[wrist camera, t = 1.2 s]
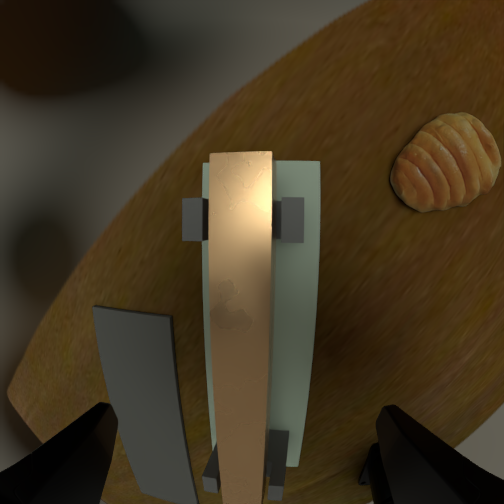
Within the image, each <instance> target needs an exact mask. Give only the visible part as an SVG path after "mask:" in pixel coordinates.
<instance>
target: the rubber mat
mask: <svg viewBox="0 0 504 504" xmlns="http://www.w3.org/2000/svg"><path fill="white" fill-rule="evenodd" d="M92 308H93V316H94V323H95V330H96V336H97V342H98V348H99V354H100V359H101V364H102V369H103V373H104V378H105V382H106V386H107V391H108V395H109V399H110V402H111V405H112V406H113V409H114V411H115V413H116V415H117V418H118V430H119V433H120V437H121V440H122V443H123V446H124V448H125V451H126V454H127V457H128V460H129V462H130V465H131V468H132V470H133V473H134V475H135V478H136V480H137V483H138V485H139V487H140V490H141V492H142V493H145V494H148V495H151V496H154V497H157V498H160V499H163V500H167V501H170V502H174V503H178V504H199V501H198V497H197V493H196V488H195V483H194V479H193V474H192V469H191V463H190V458H189V452H188V447H187V441H186V435H185V429H184V422H183V415H182V408H181V401H180V393H179V385H178V376H177V367H176V357H175V346H174V334H173V321H172V316H170V315H161V314H153V313H145V312H137V311H130V310H123V309H116V308H109V307H103V306H97V305H95V306H93V307H92Z"/></svg>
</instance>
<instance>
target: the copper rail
mask: <svg viewBox="0 0 504 504" xmlns="http://www.w3.org/2000/svg"><path fill="white" fill-rule="evenodd" d="M276 202H277V163H276V161H275V158H274V155H273V153H272V151H260V152H229V153H211V154H210V165H209V306H210V336H211V360H212V379H213V396H214V411H215V424H216V437H217V449H218V460H219V470H220V480H221V489H222V498H223V504H263V499H264V494H265V486H266V472H267V458H268V442H269V425H270V407H271V387H272V364H273V339H274V309H275V270H276Z"/></svg>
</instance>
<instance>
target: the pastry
mask: <svg viewBox="0 0 504 504" xmlns="http://www.w3.org/2000/svg"><path fill="white" fill-rule="evenodd" d="M500 166H501V157H500V154H499V150H498V147H497V145H496V143H495V140H494V138H493V136H492V134H491V133H490V132H489V131H488V130H487V129H486V128H485V127H484V125H483V124H482V122H481V121H479V120H478V119H477V118H475V117H474V116H472V115H470V114H467V113H464V112H459V113H456V114H442V115H439V116H438V117H437V118H436V119H435V120H432V121H431V122H430V123H427V124H425V125H424V126H423V127H422V128H421V129H420V131H419V132H418V133H417V134H416V135H415V137H414V138H413V139H412V140H411V141H410V142H409V143H408V145H407V146H405V147H404V149H403V150H402V151H401V153H400V154H399V155H398V156H397V158H396V160H395V163H394V166H393V168H392V170H391V175H390V181H391V184H392V186H393V189H394V191H395V193H396V194H397V196H398V197H399V198H400V199H401V200H403V201H404V203H405V204H406V205H408V206H410V207H412V208H414V209H415V210H417V211H419V212H427V211H432V210H442V211H443V210H447V209H449V208H451V207H455V206H461V207H462V206H467V205H468V204H469V203H470V202H471V201H472V200H473V199H475V198H476V197H477V196H478V195H481V194H487V193H488V192H489V191H490V189H491V187H492V186H493V185H494V183H495V180H496V178H497V175H498V171H499V168H500Z"/></svg>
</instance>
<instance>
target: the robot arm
mask: <svg viewBox="0 0 504 504" xmlns="http://www.w3.org/2000/svg"><path fill="white" fill-rule="evenodd" d="M117 428H118V418H117V415H116V413H115V411H114V409H113V406H112V405H111V404H109V403H104V402H99V403H98V404H96V405H95V406H94V407H92V408H91V409H90V410H88V411H87V412H86V413H84V414H83V415H82V416H80V417H79V418H78V419H76V420H75V421H74V422H72V423H71V424H70V425H68V426H67V427H66V428H64V429H63V430H62V431H60V432H59V433H58V434H56V435H55V436H53V437H52V438H51V439H49V440H48V441H47V442H45V443H44V444H43V445H41V446H40V447H39V448H37V449H36V450H34V451H33V452H32V454H31V453H30V454H29V455H27V456H26V457H24V458H23V459H21V460H20V461H19V462H17V463H15V464H14V465H12V466H10V467H9V468H7V469H5V470H3V471H1V472H0V504H99V503H100V499H101V496H102V492H103V488H104V485H105V481H106V478H107V474H108V471H109V468H110V464H111V460H112V456H113V450H114V445H115V439H116V434H117ZM376 430H377V435H378V441H379V444H374V445H373V446H372V447H371V449H370V451H369V454H368V457H367V460H366V462H365V465H364V468H363V470H362V473H361V475H360V478H359V480H358V483H359V485H370V486H371V491H372V497H373V502H374V504H504V480H502V479H501V478H499V477H497V476H495V475H493V474H491V473H489V472H487V471H485V470H484V469H482V468H480V467H479V466H477V465H476V464H474V463H473V462H471V461H470V460H469V459H467V458H466V457H464V456H463V455H461V454H460V453H459V452H457V451H456V450H455V449H453V448H452V447H451V446H449V445H448V444H446V443H445V442H444V441H442V440H441V439H440V438H438V437H437V436H436V435H434V434H433V433H432V432H430V431H429V430H428V429H426V428H425V427H424V426H422V425H421V424H420V423H418V422H417V421H416V420H414V419H413V418H412V417H411V416H409V415H408V414H407V413H405V412H404V411H403V410H401V409H400V408H399V407H398V406H396V405H387V406H384V407H383V408H382V410H381V412H380V414H379V416H378V418H377V421H376ZM376 448H377V449H376Z"/></svg>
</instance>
